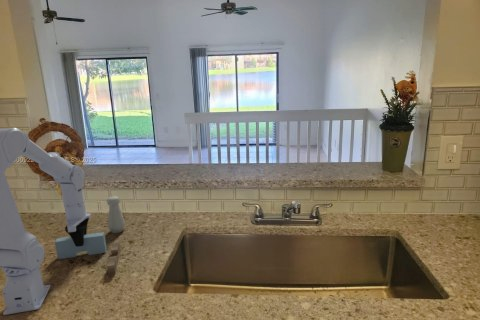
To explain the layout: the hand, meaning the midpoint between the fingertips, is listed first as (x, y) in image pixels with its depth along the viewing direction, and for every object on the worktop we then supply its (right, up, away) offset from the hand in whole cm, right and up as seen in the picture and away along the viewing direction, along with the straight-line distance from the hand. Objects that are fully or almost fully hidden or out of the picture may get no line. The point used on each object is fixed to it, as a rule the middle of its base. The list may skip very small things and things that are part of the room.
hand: (81, 242), depth 106 cm
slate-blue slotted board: (0, -4, +1) cm, 4 cm away
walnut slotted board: (+12, -5, -4) cm, 14 cm away
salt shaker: (+6, 0, +16) cm, 17 cm away
